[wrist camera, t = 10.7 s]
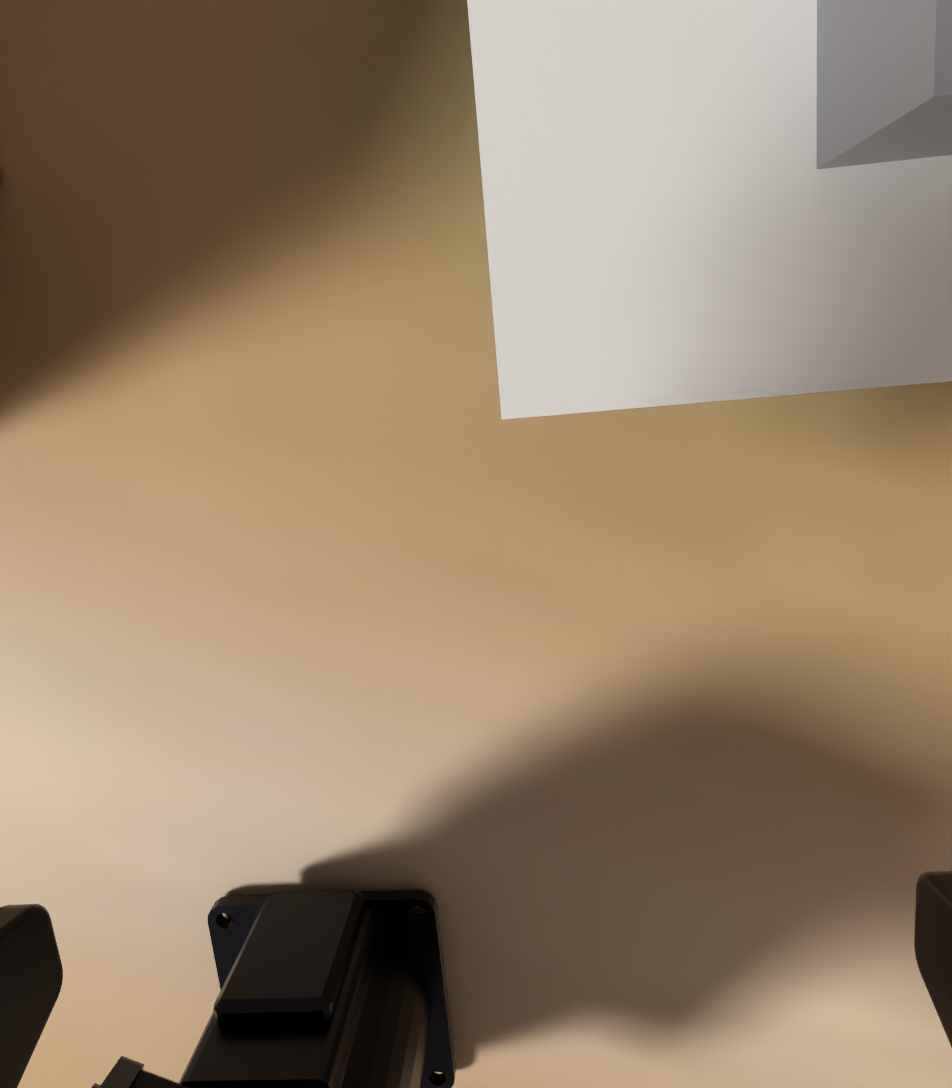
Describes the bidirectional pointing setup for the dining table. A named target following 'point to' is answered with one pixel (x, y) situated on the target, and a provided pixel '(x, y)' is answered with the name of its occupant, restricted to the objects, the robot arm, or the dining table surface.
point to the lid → (714, 197)
